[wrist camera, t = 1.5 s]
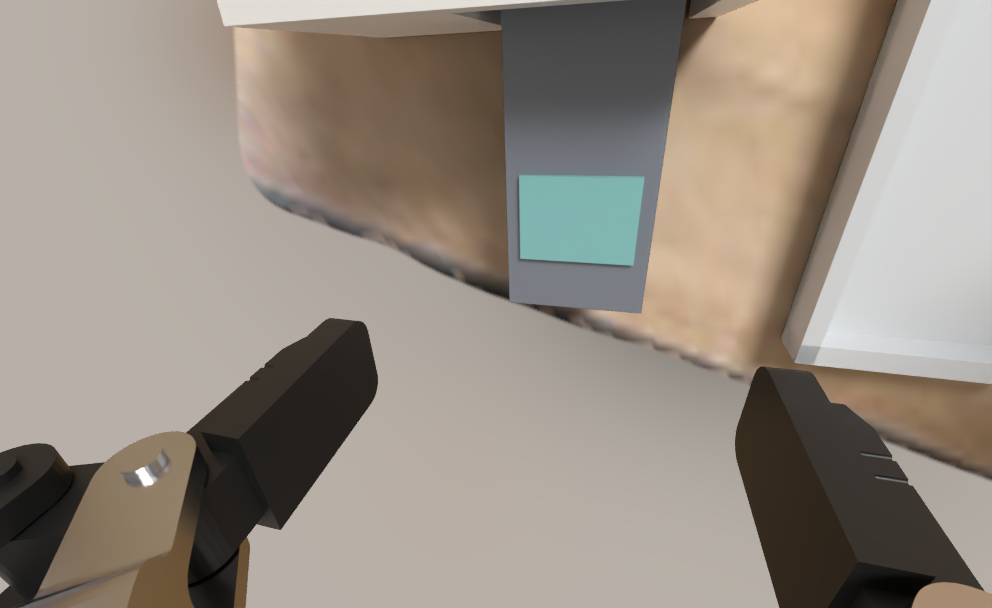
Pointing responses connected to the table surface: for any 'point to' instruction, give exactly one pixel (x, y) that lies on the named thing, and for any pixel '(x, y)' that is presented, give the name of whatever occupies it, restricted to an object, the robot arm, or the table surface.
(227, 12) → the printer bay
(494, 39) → the table surface
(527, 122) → the slab with teal patch
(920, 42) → the tray
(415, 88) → the table surface
